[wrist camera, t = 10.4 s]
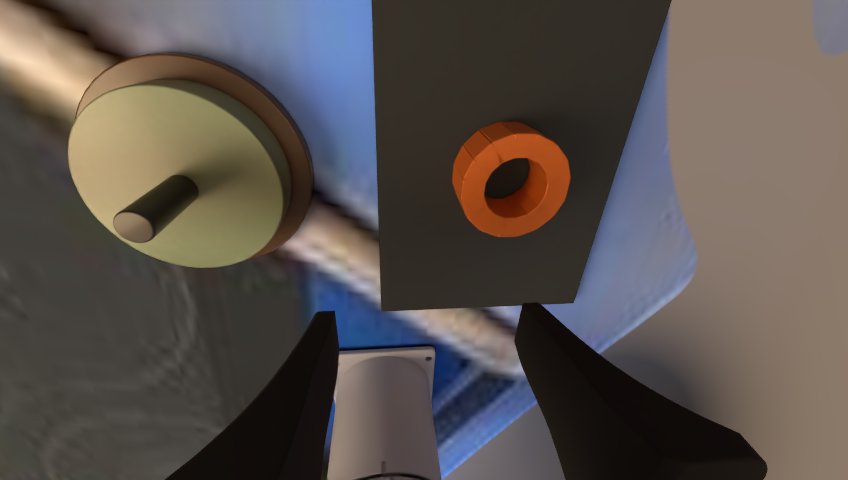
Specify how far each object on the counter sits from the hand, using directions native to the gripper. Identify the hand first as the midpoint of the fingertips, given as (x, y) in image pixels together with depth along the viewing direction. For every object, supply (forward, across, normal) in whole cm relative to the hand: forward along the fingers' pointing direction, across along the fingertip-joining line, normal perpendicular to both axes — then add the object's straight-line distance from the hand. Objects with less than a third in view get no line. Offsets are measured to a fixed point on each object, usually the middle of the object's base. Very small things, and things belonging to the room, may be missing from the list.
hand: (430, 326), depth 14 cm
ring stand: (+9, +11, -3) cm, 15 cm away
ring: (+9, -5, -3) cm, 11 cm away
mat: (+9, -5, -3) cm, 11 cm away
